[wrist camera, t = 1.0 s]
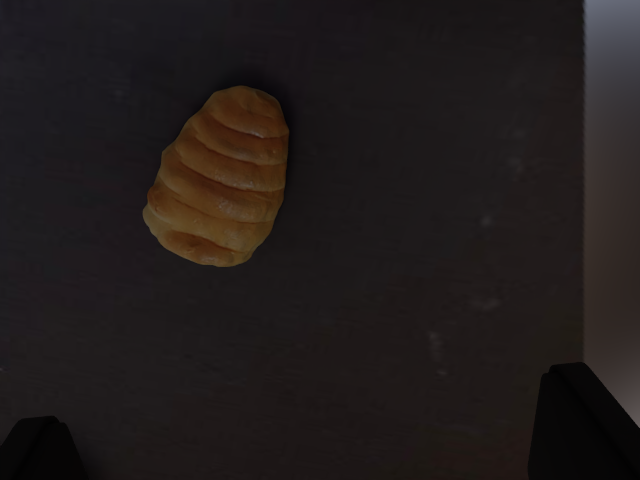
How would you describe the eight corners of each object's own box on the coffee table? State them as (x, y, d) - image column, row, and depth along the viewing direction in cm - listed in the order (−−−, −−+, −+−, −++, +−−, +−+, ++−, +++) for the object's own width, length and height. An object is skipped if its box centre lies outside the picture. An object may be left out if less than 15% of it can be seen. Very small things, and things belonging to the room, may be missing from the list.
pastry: (197, 57, 25) (184, 68, 21) (320, 113, 26) (326, 131, 23) (143, 217, 28) (124, 248, 25) (254, 257, 30) (251, 291, 26)
